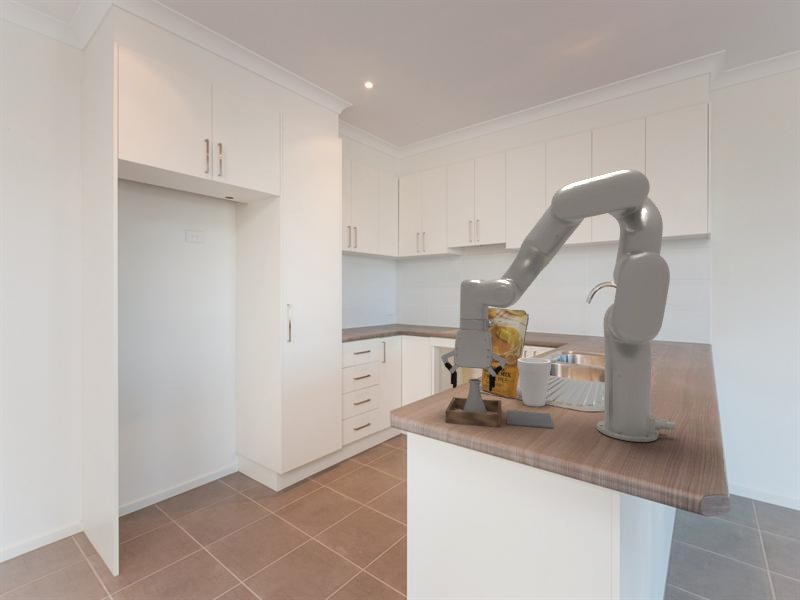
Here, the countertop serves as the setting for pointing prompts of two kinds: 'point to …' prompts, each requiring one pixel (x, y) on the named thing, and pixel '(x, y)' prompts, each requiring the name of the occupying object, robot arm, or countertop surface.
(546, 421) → the charcoal mat
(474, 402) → the flask
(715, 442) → the countertop surface
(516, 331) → the pancake mix bag
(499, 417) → the walnut frame
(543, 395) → the foam cup
